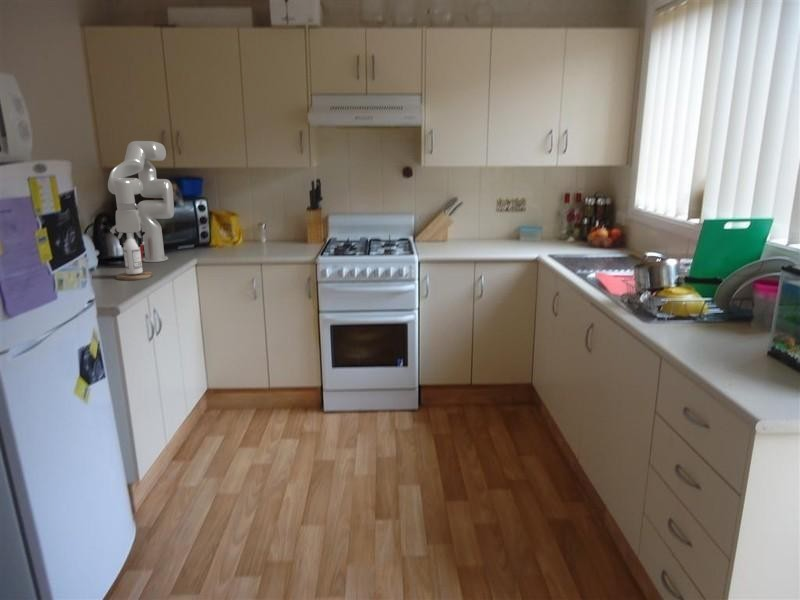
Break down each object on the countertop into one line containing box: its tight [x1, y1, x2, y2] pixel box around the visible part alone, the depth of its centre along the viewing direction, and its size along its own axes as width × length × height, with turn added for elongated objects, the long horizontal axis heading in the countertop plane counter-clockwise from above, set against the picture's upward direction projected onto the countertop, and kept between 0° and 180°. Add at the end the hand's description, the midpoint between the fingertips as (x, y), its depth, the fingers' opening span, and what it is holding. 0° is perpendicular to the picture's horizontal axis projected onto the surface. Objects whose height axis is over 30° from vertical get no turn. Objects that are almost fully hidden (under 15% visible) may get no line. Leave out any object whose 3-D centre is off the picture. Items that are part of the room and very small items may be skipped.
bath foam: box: [122, 232, 144, 275], centre depth 253 cm, size 7×7×20 cm
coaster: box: [116, 270, 153, 282], centre depth 256 cm, size 15×15×1 cm
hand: (131, 246), depth 252 cm, fingers closed on bath foam, 6 cm apart
